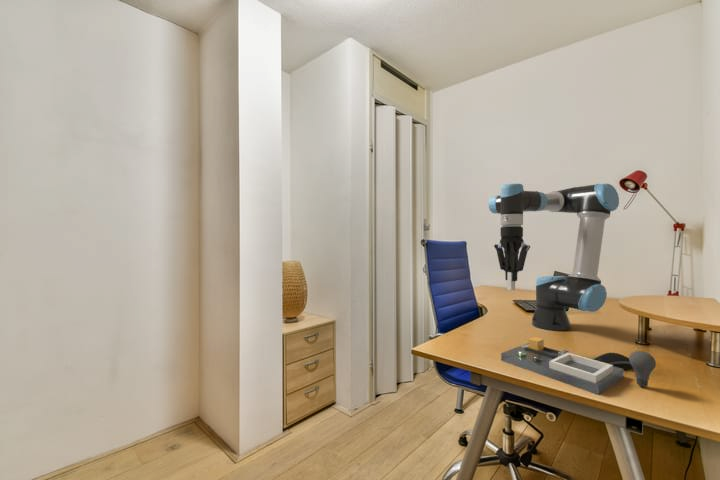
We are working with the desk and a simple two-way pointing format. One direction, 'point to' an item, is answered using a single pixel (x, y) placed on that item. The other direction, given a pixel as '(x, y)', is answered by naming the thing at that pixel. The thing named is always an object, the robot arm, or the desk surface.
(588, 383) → the panel
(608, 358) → the computer mouse
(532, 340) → the wooden block
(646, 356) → the light bulb
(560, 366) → the socket
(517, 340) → the desk surface
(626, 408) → the desk surface
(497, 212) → the robot arm
